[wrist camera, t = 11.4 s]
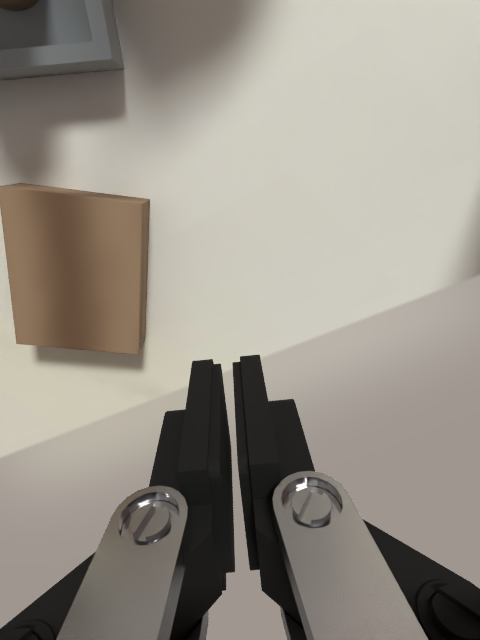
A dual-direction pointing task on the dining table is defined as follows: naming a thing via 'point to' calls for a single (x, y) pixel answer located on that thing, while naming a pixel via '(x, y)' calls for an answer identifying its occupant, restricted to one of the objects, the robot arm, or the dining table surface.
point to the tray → (59, 39)
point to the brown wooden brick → (76, 267)
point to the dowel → (17, 4)
